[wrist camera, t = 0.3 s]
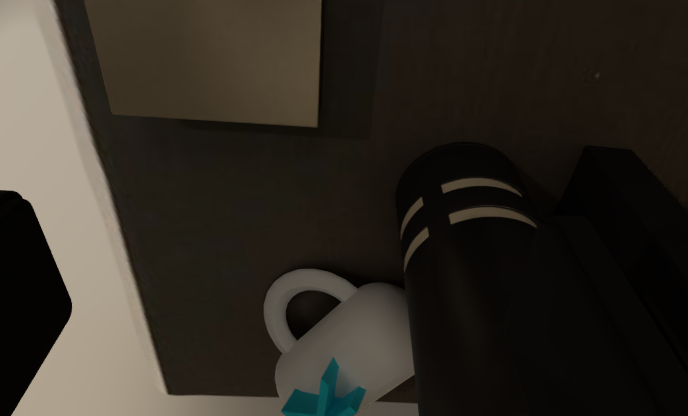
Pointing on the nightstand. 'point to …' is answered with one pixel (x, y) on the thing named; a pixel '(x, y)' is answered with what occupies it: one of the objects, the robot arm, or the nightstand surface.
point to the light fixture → (519, 262)
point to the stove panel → (212, 59)
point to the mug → (339, 345)
